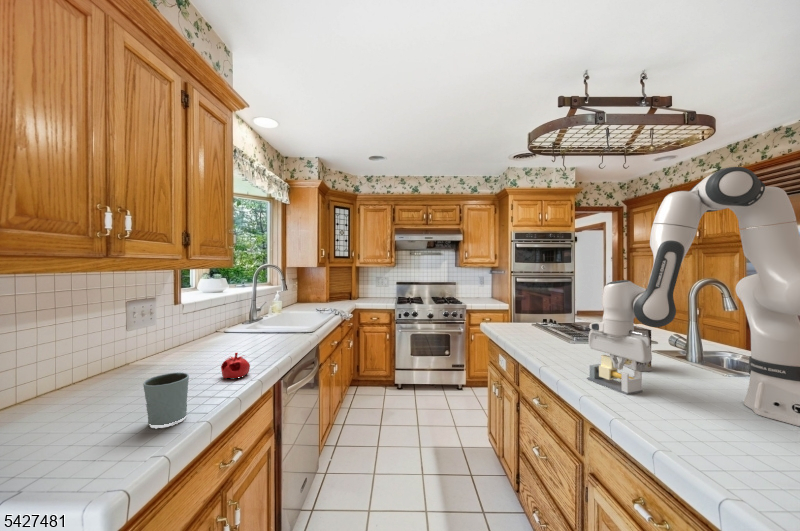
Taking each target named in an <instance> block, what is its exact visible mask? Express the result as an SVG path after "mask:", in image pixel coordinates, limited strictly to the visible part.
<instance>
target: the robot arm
mask: <svg viewBox="0 0 800 531" xmlns="http://www.w3.org/2000/svg"><path fill="white" fill-rule="evenodd" d="M725 209H729V210H730V211H732V212H733V214H735V216H736V219H737V222H738V229H739V236H740V241H741V245H742V251H743V256H744V257H745V258H746V260H749V262H750V263H751V265H752V266H753V269H754V270H755V271H756V272H755V274H750V275H747V276H745V277H743V278H741V279H740V280H738V282H737V283H736V285H735V293H736V294H735V295H737V297H738V299H739V300H740V301H741V304H742V305H743V308H744V309H743V310H744V312H745V316H746V318H747V322H748V326H749V330H750V356H748V374H749V375H750V376H749V382H748V388H747V390H746V391H747V392H746V394H745V397H744V399H743V402H742V403H743V405H745V406H746V407H747V408H749V409H751V410H752V411H753V412H754V414H756V415H759V416H760V417H764V418H768V419H772V420H776V421H778V422H779V421H780V422H782V423H787V424H790V425H794V426H798V427H800V318H799V316H800V232H799V227H798V222H797V217H796V212H795V210H794V207H793V204H792V203H791V200H790V198H789V196H788V194H787V192H786V190H784V189H783V188H780V187H777V186H766V185H765V183H764V182H762V181H761V180H760V179H759V177H758V176H757V175H756V174H755V173H754V172H753V171H752V170H751V169H748V168H746V167H742V166H729V167H725V168H722V169H719V170H717V171H715V172H712V173H710V174H708V175H707V176H706V177H704V178H703V179H702V180H700V181H699V182H698V183H697V184H694V186H693V187H692V188H691V189H690V190H679V191H678V190H677V191H674V192H671V193H668V194H667V195H666V196H665V197H664V198H663V200H662V202H661V203H660V206H659V207H658V210H657V211H656V214H655V216H654V220H653V222H652V226H651V230H650V235H649V247H650V249H651V252H652V255H653V265H652V269H651V272H650V276H649V279H648V282H647V283H648V284H647V287H646V288H645V287H643V286H640V285H638V284H635V282H632V281H631V280H629V279H623V280H622V279H621V280H613V281H609V282H607V283H606V284H605V285H604V287H603V290H602V304H601V305H602V309H603V315H602V320H601V321H599V322H598V321H597V322H593V323H590V324H589V329H590V331H589V333H588V347H589V348H590V349H591V350H594V351H597V352H601V353H604V354H609V356H610V358H611V360H612V362H613V367H614V368H616V369H617V370H620V371H621V370H623V369H624V365H623V364H624V363H625V361H626V360H627V359H630V360H633V361H637V362H641V363H647V362H650V361H651V362H652V359H653V355H652V354H653V353H652V346H651V347H650V338H649V337H648V336H647V335H645V333H641V332H636V331H634V326H635V325H634V322H635V321H634V319H635V318H636V319H637V321H638V322H640V324H643V325H645V326H648V327H650V328H662V327H666V326H668V325H670V323H672V322H673V321H674V319H675V317H676V315H677V308H676V304H675V300H674V290H675V288H676V285H677V280H678V278H679V277H678V276H679V274H680V270H681V266H682V263H683V262H684V259H685V257H686V255H687V253H688V251H689V249H690V247H691V246H692V243H693V242H694V240H695V237H696V234H697V231H698V228H699V225H700V224H699V223H700V220H701V219H702V216H704V215H705V213H709V212H710V213H711V212H717V211H722V210H725ZM644 336H646V337H644Z"/></svg>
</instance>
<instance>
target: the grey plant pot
mask: <svg viewBox="0 0 800 531" xmlns="http://www.w3.org/2000/svg"><path fill="white" fill-rule="evenodd" d="M189 379H190V374H189V373H187V372H170V373H169V372H168V373H163V374H160V375H156V376H153V377H150V378H148V379H146V380H145V381H144V382H143V385H142V386H143V392H144V399H145V402H146V405H145V407H146V412H147V419H148V420H147V422H148V423H149V424H151V425H164V424H169V423H172V422H175V421H178V420H180V419H182V418H184V417H185V416H186V415H187V414H188V412H187V410H188V408H187V407H188V403H187V402H188V393H189V391H188V390H189ZM148 423H147V424H148ZM149 424H148V425H149Z"/></svg>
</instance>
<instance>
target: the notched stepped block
mask: <svg viewBox="0 0 800 531" xmlns="http://www.w3.org/2000/svg"><path fill="white" fill-rule="evenodd" d="M611 371H615V372H618V369H616V368H614V367H613V362H612V360H611V358H610V355H607V354H602V355H601V356H600V366H599V376H600V377H602V378H605V379H608V380H618V379H619V378H616V377H613V376H611Z"/></svg>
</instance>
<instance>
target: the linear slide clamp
mask: <svg viewBox="0 0 800 531" xmlns="http://www.w3.org/2000/svg"><path fill="white" fill-rule="evenodd" d="M600 365H601V363H600V364H599V363H597V364H589V377H586V380H587V379H588V380H587V381H590V382H592V381H593V382H592V383H596V384H598V385H601V386H603V387H605V386H606V387H605V388H608V389H611V390H614V391H616V392H619V393H621V394H624V395H626V396H628V395H634V394H639V393H643V388H642V385H643V383H642V382H643V381H642V380H643V379H642V378H643V376H642V374H643V371H637V370H633V372H634V374H633V376H630V374H629V373H627V372H623V371H622V372H621V373H620V372H618V371H617V372H615V371H611V376H613V377H616V378H618V379H619V380H621V382H620V381H618V380H616V379H613V380H608V379H605V378H602V377H600V376H599V366H600Z"/></svg>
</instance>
